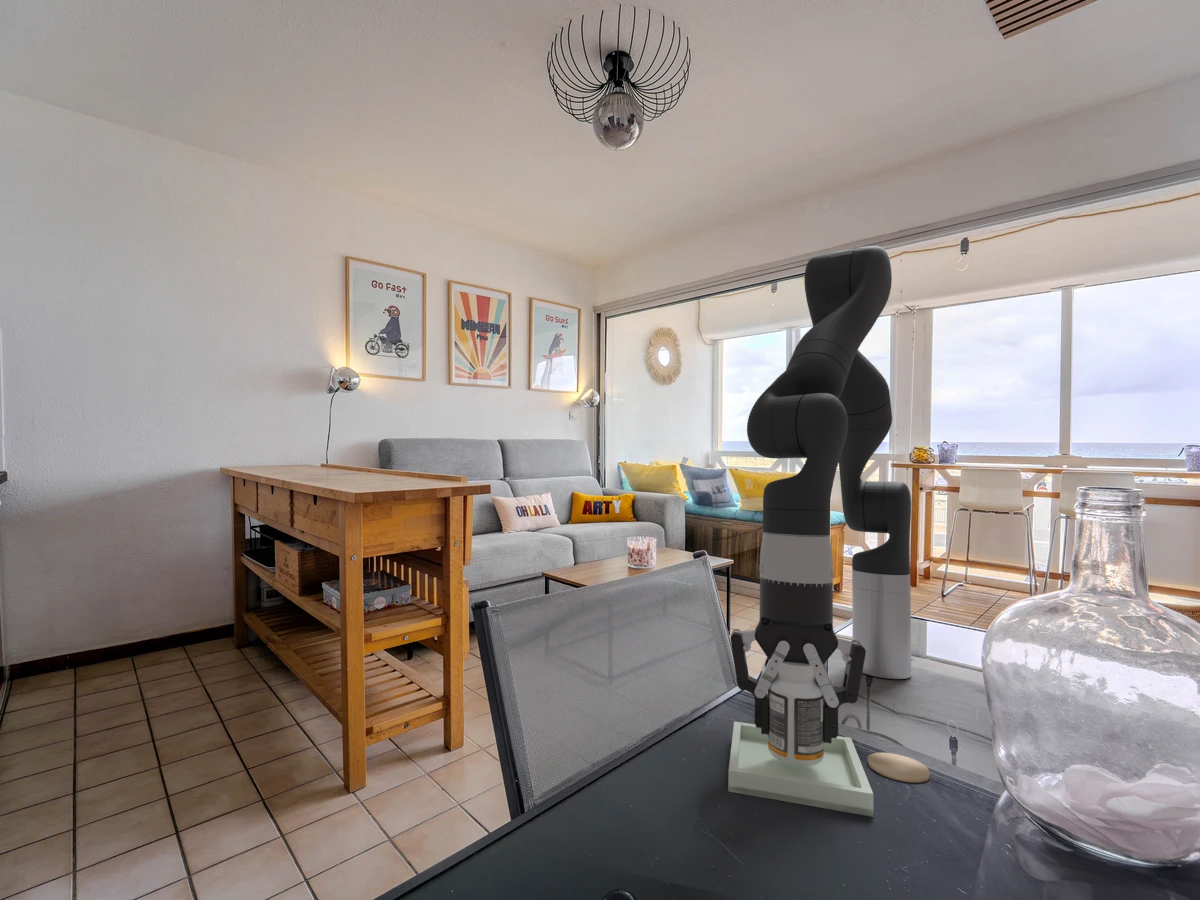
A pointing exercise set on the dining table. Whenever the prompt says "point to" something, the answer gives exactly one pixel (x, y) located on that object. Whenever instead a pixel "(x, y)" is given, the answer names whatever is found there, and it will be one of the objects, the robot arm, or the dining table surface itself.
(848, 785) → the tray
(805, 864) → the dining table surface
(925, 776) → the coaster
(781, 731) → the pill bottle
